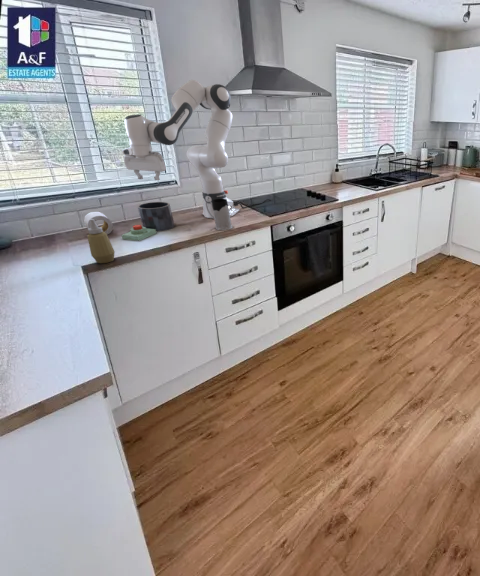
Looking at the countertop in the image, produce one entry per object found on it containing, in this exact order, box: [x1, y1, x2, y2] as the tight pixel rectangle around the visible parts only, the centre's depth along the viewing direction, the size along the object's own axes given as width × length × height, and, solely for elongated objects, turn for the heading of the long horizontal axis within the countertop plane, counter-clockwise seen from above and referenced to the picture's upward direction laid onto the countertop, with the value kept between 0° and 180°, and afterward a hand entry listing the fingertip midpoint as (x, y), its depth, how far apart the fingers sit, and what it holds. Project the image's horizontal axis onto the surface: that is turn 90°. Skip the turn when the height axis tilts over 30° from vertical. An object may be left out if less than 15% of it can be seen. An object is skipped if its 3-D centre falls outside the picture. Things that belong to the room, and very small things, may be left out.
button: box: [132, 224, 143, 230], centre depth 182 cm, size 4×4×2 cm
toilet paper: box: [83, 211, 114, 236], centre depth 184 cm, size 10×10×10 cm
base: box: [121, 226, 157, 242], centre depth 184 cm, size 12×9×4 cm
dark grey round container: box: [137, 201, 176, 232], centre depth 195 cm, size 15×15×12 cm
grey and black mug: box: [206, 199, 233, 231], centre depth 198 cm, size 9×14×15 cm, turn 68°
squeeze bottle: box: [86, 219, 116, 264], centre depth 152 cm, size 8×8×18 cm
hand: (149, 179), depth 188 cm, fingers open, 8 cm apart
